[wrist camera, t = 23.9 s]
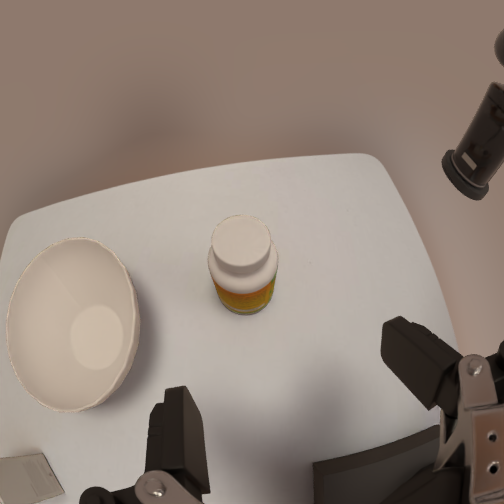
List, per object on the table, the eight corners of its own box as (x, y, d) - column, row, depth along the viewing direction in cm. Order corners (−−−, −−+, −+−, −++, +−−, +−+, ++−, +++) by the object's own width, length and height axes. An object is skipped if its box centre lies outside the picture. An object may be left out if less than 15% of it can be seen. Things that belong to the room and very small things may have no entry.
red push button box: (436, 424, 19) (471, 426, 13) (431, 507, 13) (460, 520, 8) (312, 462, 18) (328, 482, 13) (314, 547, 13) (326, 575, 8)
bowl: (122, 243, 29) (96, 207, 23) (196, 360, 23) (175, 350, 17) (32, 314, 25) (-5, 294, 18) (82, 433, 19) (40, 438, 13)
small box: (44, 452, 17) (-19, 457, 7) (66, 493, 14) (8, 510, 5) (14, 460, 15) (-41, 461, 5) (33, 496, 12) (-19, 506, 3)
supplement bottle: (278, 310, 26) (290, 268, 17) (222, 320, 25) (205, 283, 17) (267, 260, 28) (272, 201, 19) (215, 268, 28) (198, 212, 19)
